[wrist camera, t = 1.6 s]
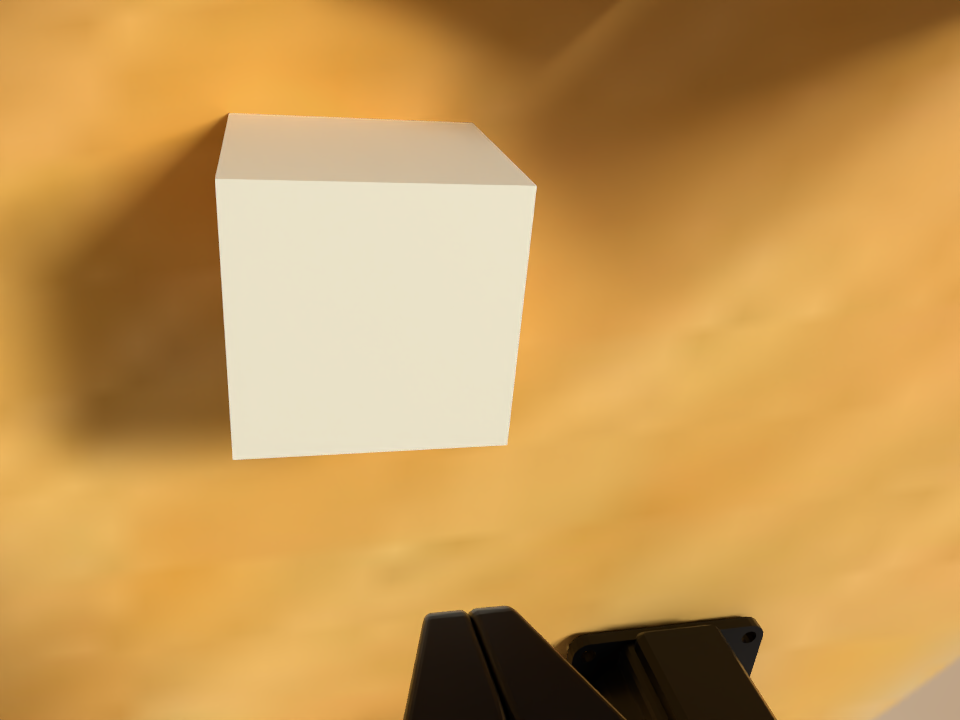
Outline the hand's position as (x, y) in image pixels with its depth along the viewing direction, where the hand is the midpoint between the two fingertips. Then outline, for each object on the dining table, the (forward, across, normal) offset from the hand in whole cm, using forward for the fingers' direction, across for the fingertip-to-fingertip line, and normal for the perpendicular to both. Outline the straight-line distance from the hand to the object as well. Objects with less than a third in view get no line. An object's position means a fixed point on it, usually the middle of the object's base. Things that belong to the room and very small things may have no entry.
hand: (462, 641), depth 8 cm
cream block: (+12, 0, 0) cm, 12 cm away
